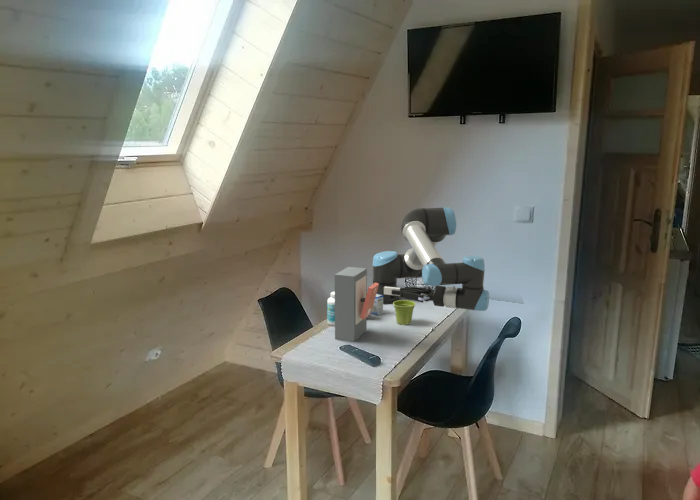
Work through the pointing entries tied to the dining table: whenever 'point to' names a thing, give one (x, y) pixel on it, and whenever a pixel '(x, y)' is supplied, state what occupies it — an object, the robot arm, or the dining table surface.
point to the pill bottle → (331, 309)
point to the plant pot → (404, 311)
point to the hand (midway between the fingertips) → (384, 290)
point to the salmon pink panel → (369, 300)
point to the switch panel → (350, 303)
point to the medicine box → (378, 305)
